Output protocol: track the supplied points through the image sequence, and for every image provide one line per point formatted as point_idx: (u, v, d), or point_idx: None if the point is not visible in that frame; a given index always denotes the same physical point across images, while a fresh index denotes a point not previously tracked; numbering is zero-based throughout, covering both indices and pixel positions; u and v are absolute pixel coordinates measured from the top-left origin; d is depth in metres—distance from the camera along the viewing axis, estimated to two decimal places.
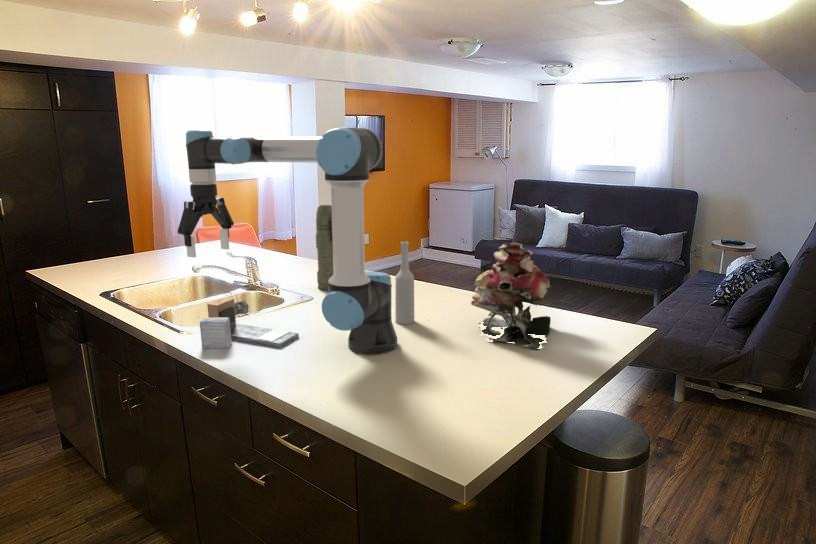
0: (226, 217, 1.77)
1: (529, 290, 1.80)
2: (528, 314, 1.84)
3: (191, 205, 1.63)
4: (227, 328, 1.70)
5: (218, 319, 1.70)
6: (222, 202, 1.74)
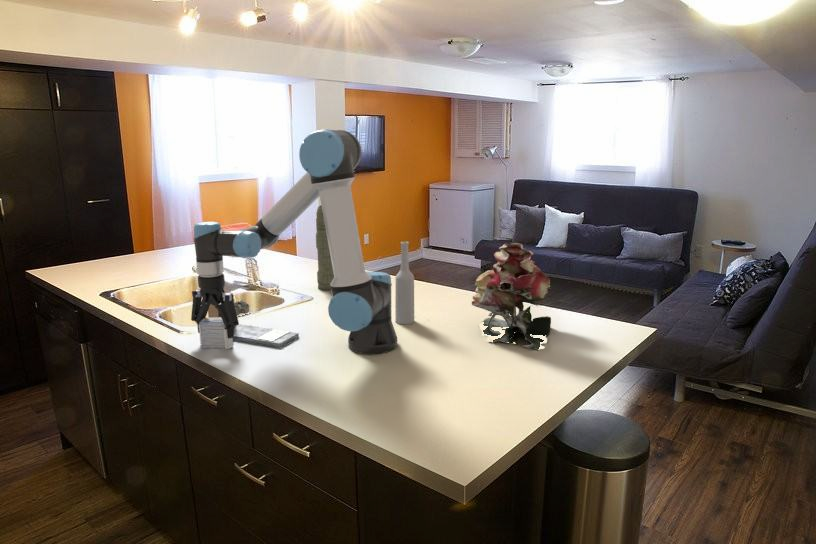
0: None
1: (530, 290, 1.80)
2: (529, 314, 1.84)
3: (193, 294, 1.70)
4: None
5: (218, 319, 1.70)
6: (225, 299, 1.66)
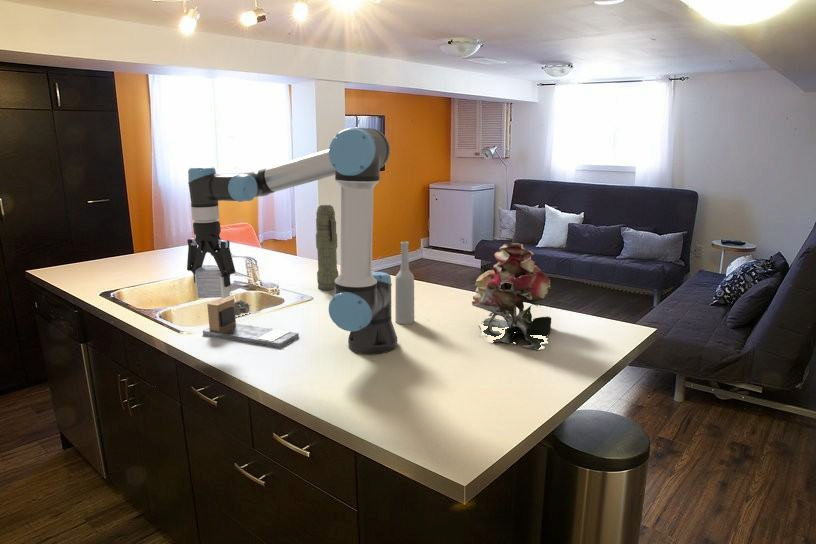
0: None
1: (530, 290, 1.80)
2: (529, 315, 1.84)
3: (189, 242, 1.66)
4: None
5: (215, 268, 1.67)
6: (221, 246, 1.62)
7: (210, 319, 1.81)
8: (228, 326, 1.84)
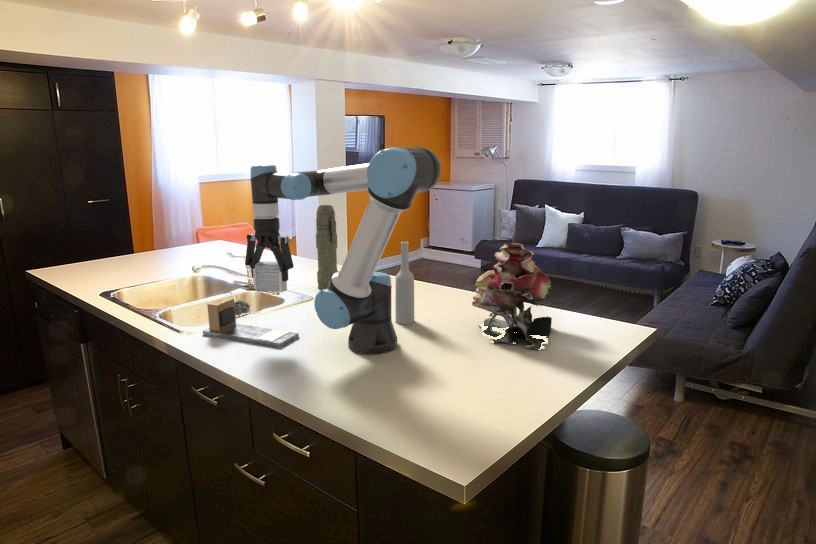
0: None
1: (530, 290, 1.80)
2: (529, 315, 1.84)
3: (248, 238, 1.71)
4: None
5: (273, 262, 1.72)
6: (281, 241, 1.67)
7: (210, 319, 1.81)
8: (228, 326, 1.84)
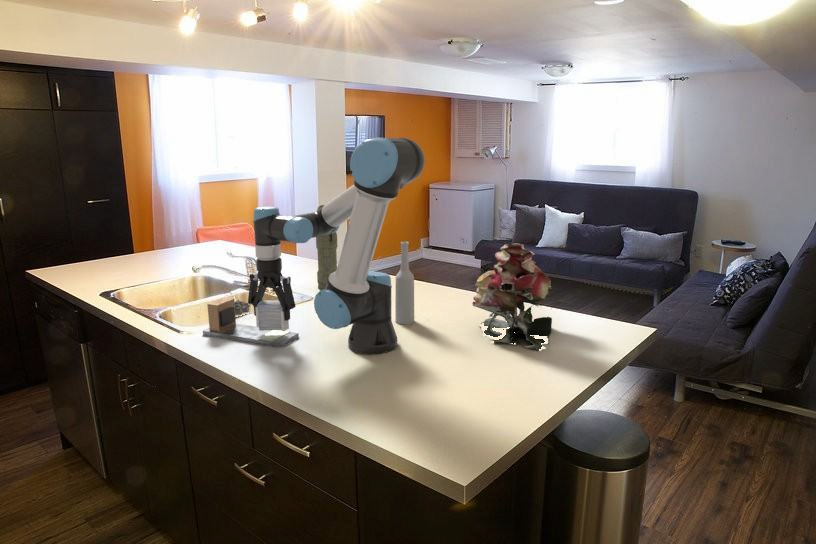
0: None
1: (530, 291, 1.80)
2: (529, 315, 1.84)
3: (251, 277, 1.74)
4: None
5: (275, 302, 1.75)
6: (283, 282, 1.70)
7: (210, 319, 1.81)
8: (228, 326, 1.84)
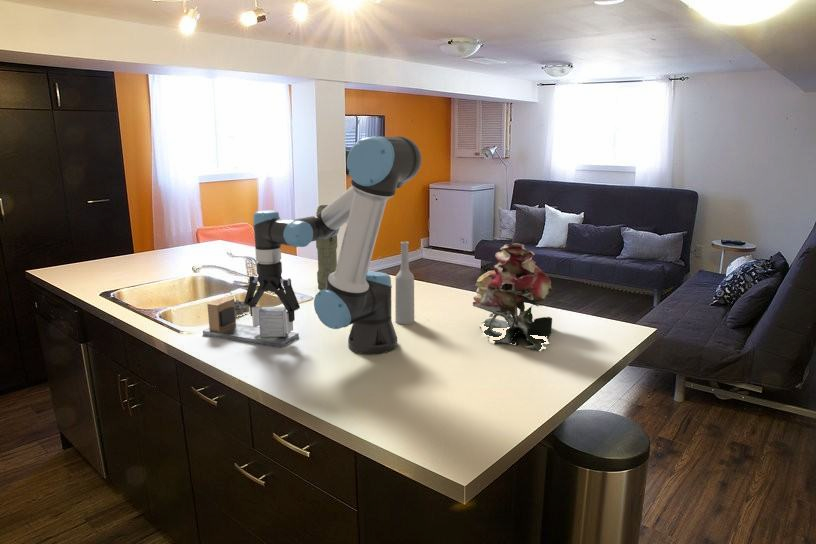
0: None
1: (531, 291, 1.80)
2: (530, 315, 1.84)
3: (250, 279, 1.74)
4: None
5: (276, 308, 1.75)
6: (284, 284, 1.70)
7: (210, 319, 1.81)
8: (228, 326, 1.84)
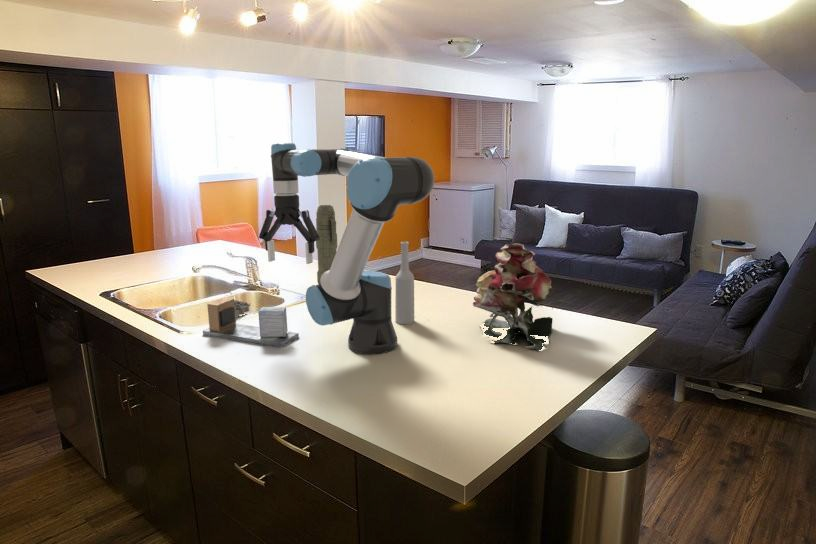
0: None
1: (531, 291, 1.79)
2: (530, 315, 1.83)
3: (267, 213, 1.75)
4: (285, 317, 1.75)
5: (276, 308, 1.75)
6: (302, 215, 1.71)
7: (210, 319, 1.81)
8: (228, 326, 1.84)
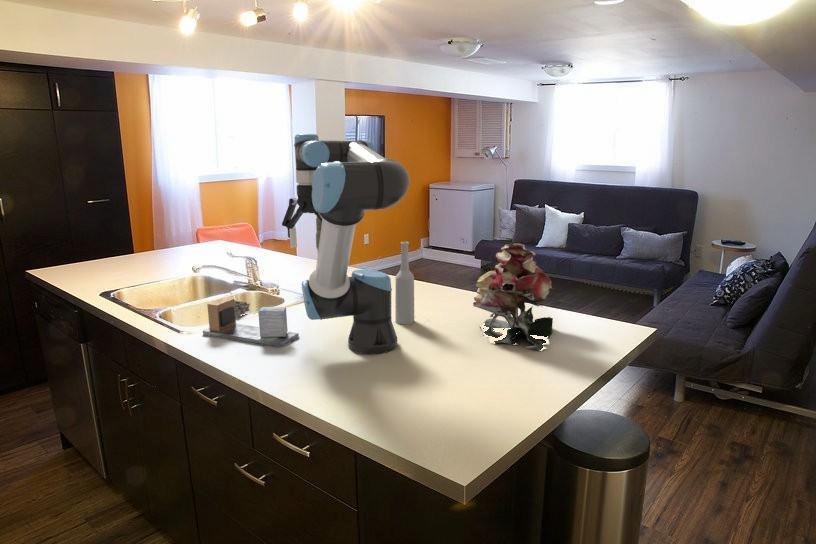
0: None
1: (531, 291, 1.79)
2: (530, 315, 1.83)
3: (290, 201, 1.81)
4: (285, 317, 1.75)
5: (276, 308, 1.75)
6: None
7: (210, 319, 1.81)
8: (228, 326, 1.84)
